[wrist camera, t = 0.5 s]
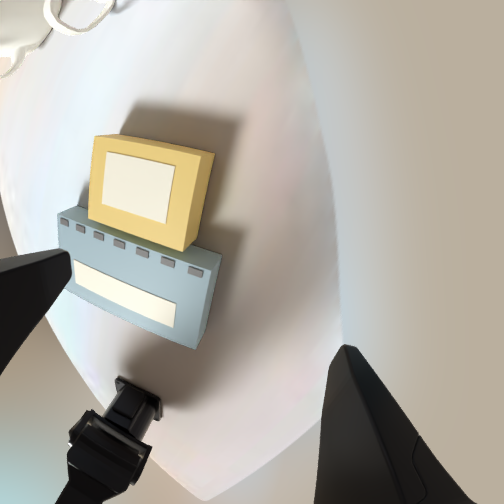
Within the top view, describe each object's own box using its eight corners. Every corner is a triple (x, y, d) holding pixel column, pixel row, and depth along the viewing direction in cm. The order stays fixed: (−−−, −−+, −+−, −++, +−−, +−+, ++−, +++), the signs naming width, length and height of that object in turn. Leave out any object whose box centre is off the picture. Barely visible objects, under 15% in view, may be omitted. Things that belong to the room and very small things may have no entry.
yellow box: (196, 237, 19) (182, 252, 17) (107, 208, 20) (87, 218, 17) (214, 153, 16) (200, 156, 14) (116, 134, 17) (93, 136, 15)
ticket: (205, 330, 23) (194, 350, 20) (79, 276, 23) (63, 288, 21) (222, 254, 19) (210, 271, 17) (76, 205, 20) (56, 214, 18)
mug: (14, 95, 17) (-62, 107, 7) (23, 15, 12) (-41, 11, 3) (57, 62, 15) (-37, 60, 5) (69, -23, 11) (-1, -42, 1)
